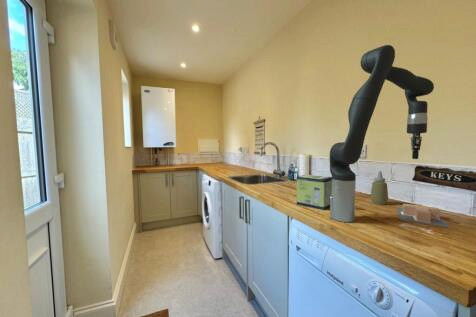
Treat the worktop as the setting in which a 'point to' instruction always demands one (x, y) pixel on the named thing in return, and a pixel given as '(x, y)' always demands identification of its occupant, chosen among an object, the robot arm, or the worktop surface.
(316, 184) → the protein box
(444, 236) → the worktop surface
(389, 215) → the worktop surface
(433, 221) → the mat
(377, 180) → the squeeze bottle
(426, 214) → the T-block
